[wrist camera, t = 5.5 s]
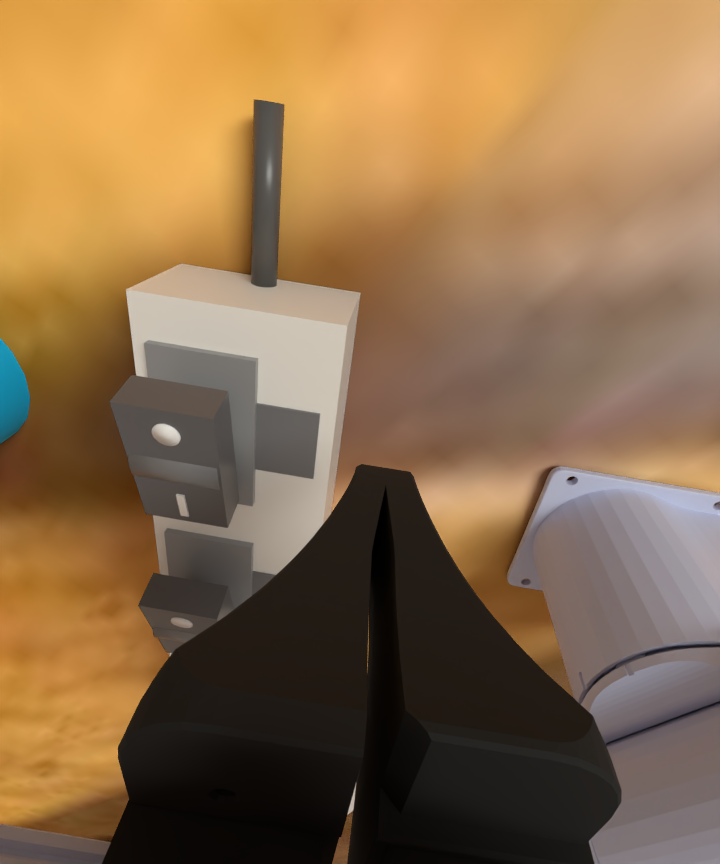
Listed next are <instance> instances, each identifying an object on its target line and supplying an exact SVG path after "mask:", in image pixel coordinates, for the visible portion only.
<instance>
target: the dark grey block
mask: <svg viewBox="0 0 720 864" xmlns="http://www.w3.org/2000/svg"><path fill="white" fill-rule="evenodd" d="M110 405H111V408H112V411H113V414H114V417H115V420H116V423H117V426H118V430H119V433H120V436H121V439H122V442H123V445H124V448H125V451H126V454H127V457H128V460H129V468H130V471H131V473H132V474H133V476H134V479H135V482H136V485H137V488H138V491H139V494H140V497H141V500H142V503H143V506H144V509H145V513H146V514H149V515H155V516H161V517H166V518H172V519H178V520H184V521H189V522H195V523H201V524H207V525H212V526H218V527H224V528H228V527H229V524H230V522H231V519H232V517H233V514H234V512H235V509H236V507H237V504H238V502H239V492H238V482H237V472H236V462H235V452H234V442H233V433H232V423H231V413H230V403H229V393H228V391H225V390H219V389H213V388H207V387H201V386H195V385H189V384H183V383H177V382H171V381H165V380H159V379H153V378H147V377H141V376H135V375H131V376H130V377H129V379H128V380H127V381H126V382H125V383H124V385H123V386H122V387H121V388H120V390H119V391H118V392H117V393H116V394H115V396H114V397H113V398H112V399H111V400H110Z"/></svg>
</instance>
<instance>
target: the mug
mask: <svg viewBox="0 0 720 864" xmlns="http://www.w3.org/2000/svg"><path fill="white" fill-rule="evenodd" d="M29 403H30V396H29V391H28V387H27V382H26V378H25V375H24V373H23V371H22V369H21V368H20V366H19V364H18V362H17V360H16V358H15V357H14V355H13V353H12V351H11V350H10V349H9V348H8V347H7V345H6V344H5V343H4V342H3V341H2V340H1V339H0V444H1V443H2V442H4V441H5V440H7V439H8V438H9V437H11V436H12V435H14V434H15V433H17V432H18V431H19V429H20V428H21V426H22V425H23V423H24V422H25V420H26V419H27V418H28V410H29Z"/></svg>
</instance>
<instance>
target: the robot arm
mask: <svg viewBox="0 0 720 864" xmlns="http://www.w3.org/2000/svg"><path fill="white" fill-rule="evenodd" d="M573 476H574V477H575V478H574V479H573V480H569V481H568V480H567V479H568V478H569V477H573ZM717 502H719V503H718V504H716V505H714V504H715V503H717ZM523 579H526V580H523ZM507 581H508V583H509V584H510V585H513V586H517V587H523V588H529V589H534V590H540V591H543V593H544V596H545V600H546V603H547V606H548V610H549V613H550V617H551V620H552V624H553V627H554V631H555V634H556V637H557V641H558V644H559V648H560V651H561V655H562V658H563V662H564V665H565V668H566V672H567V675H568V679H569V682H570V686H571V689H572V693H573V696H574V698H573V697H572V696H571V695H569V694H568V693H567V692H566V691H565V690H564V689H563V688H562V687H561V686H559V685H558V684H557V683H556V682H555V681H554V680H553V679H552V678H551V677H549V676H548V675H547V674H546V673H545V672H544V671H543V670H542V669H541V668H540V667H539V666H538V665H537V664H536V663H535V662H534V661H533V660H532V659H531V658H530V657H529V656H528V655H527V654H526V653H525V652H524V651H523V649H522V648H521V647H520V646H519V645H518V644H517V643H516V642H515V641H514V640H513V639H512V637H511V636H510V635H509V634H508V633H507V632H506V630H505V629H504V628H503V627H502V626H501V625H500V624H499V622H498V621H497V620H496V619H495V618H494V617H493V615H492V614H491V613H490V612H489V611H488V609H487V608H486V607H485V605H484V604H483V603H482V601H481V600H480V599H479V598H478V596H477V595H476V594H475V592H474V591H473V589H472V588H471V586H470V585H469V584H468V582H467V581H466V579H465V578H464V576H463V575H462V573H461V572H460V570H459V569H458V567H457V566H456V564H455V562H454V561H453V559H452V557H451V556H450V554H449V552H448V551H447V549H446V547H445V545H444V544H443V542H442V540H441V538H440V536H439V534H438V532H437V530H436V528H435V526H434V524H433V522H432V520H431V518H430V516H429V514H428V512H427V510H426V508H425V505H424V503H423V501H422V498H421V496H420V493H419V491H418V488H417V485H416V483H415V480H414V476H413V475H412V474H411V472H407V471H401V470H394V469H388V468H382V467H376V466H370V465H363V464H361V465H359V466H357V467H356V470H355V473H354V476H353V478H352V480H351V482H350V484H349V486H348V488H347V490H346V491H345V493H344V495H343V496H342V498H341V499H340V501H339V502H338V504H337V505H336V507H335V509H334V510H333V512H332V513H331V514H330V516H329V517H328V518H327V520H326V521H325V522H324V524H323V525H322V526H321V527H320V529H319V530H318V531H317V532H316V534H315V535H314V536H313V537H312V539H311V540H310V541H309V542H308V543H307V544H306V545H305V547H304V548H303V549H302V550H301V551H300V552H299V553H298V554H297V555H296V556H295V557H294V558H293V559H292V560H291V561H290V562H289V563H288V564H287V565H286V566H285V567H284V568H283V569H282V570H281V571H280V572H279V573H278V574H277V575H275V576H274V577H273V578H272V579H271V580H270V581H269V582H268V583H267V584H266V585H264V586H263V587H262V588H261V589H260V590H259V591H257V592H256V593H255V594H253V595H252V596H251V597H250V598H248V599H247V600H246V601H244V602H243V603H242V604H241V605H239V606H238V607H237V608H235V609H234V610H233V611H231V612H230V613H229V614H228V615H226V616H225V617H223V618H222V619H221V620H219V621H218V622H216V623H215V624H213V625H212V626H210V627H209V628H207V629H205V630H204V631H202V632H201V633H199V634H198V635H196V636H195V637H193V638H192V639H190V640H189V641H187V642H185V643H184V644H182V645H181V646H179V647H178V648H176V649H175V650H174V652H173V653H172V654H171V656H170V657H169V658H168V660H167V661H166V662H165V664H164V665H163V667H162V668H161V669H160V671H159V672H158V674H157V675H156V677H155V678H154V680H153V681H152V683H151V684H150V686H149V688H148V689H147V691H146V693H145V694H144V696H143V697H142V699H141V701H140V703H139V705H138V707H137V709H136V711H135V713H134V715H133V717H132V719H131V721H130V723H129V725H128V727H127V730H126V732H125V734H124V736H123V738H122V740H121V742H120V744H119V746H118V760H119V763H120V767H121V771H122V774H123V778H124V781H125V785H126V789H127V792H128V796H129V801H128V803H127V806H126V808H125V811H124V813H123V815H122V818H121V820H120V822H119V825H118V827H117V829H116V832H115V834H114V836H113V839H112V841H111V842H107V841H101V840H95V839H89V838H83V837H77V836H71V835H65V834H59V833H53V832H47V831H41V830H35V829H29V828H23V827H17V826H11V825H5V824H0V864H332V861H333V857H334V854H335V850H336V846H337V843H338V839H339V837H341V835H342V832H343V828H344V824H345V821H346V817H347V814H348V810H349V807H350V803H351V799H352V796H353V792H354V789H355V785H356V790H355V800H354V809H353V818H352V827H351V836H350V845H349V853H348V862H347V864H720V493H717V492H711V491H706V490H700V489H694V488H688V487H682V486H676V485H670V484H664V483H658V482H652V481H646V480H640V479H634V478H628V477H622V476H617V475H611V474H605V473H599V472H593V471H587V470H581V469H575V468H569V467H556V468H554V469H552V470H551V472H550V473H549V475H548V478H547V480H546V482H545V485H544V487H543V490H542V492H541V494H540V497H539V499H538V501H537V504H536V506H535V509H534V511H533V513H532V516H531V518H530V520H529V523H528V525H527V528H526V530H525V532H524V535H523V537H522V539H521V542H520V544H519V547H518V549H517V551H516V554H515V556H514V559H513V561H512V563H511V566H510V568H509V570H508V573H507ZM368 617H369V655H368V673H367V649H368Z"/></svg>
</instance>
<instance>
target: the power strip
mask: <svg viewBox="0 0 720 864" xmlns="http://www.w3.org/2000/svg"><path fill="white" fill-rule="evenodd" d="M283 126H284V105H283V104H279V103H274V102H269V101H262V100H254V123H253V189H252V254H251V275H248V274H242V273H236V272H230V271H223V270H217V269H211V268H205V267H199V266H193V265H187V264H179V265H177V266H175V267H173V268H171V269H169V270H167V271H164V272H162V273H160V274H158V275H156V276H154V277H152V278H149V279H147V280H145V281H143V282H141V283H139V284H137V285H135V286H132V287H130V288H128V289H126V294H127V302H128V311H129V319H130V327H131V336H132V344H133V353H134V361H135V369H136V376H141V377H147V378H153V379H159V380H165V381H171V382H177V383H183V384H189V385H195V386H201V387H207V388H213V389H219V390H225V391H228V393H229V403H230V413H231V423H232V433H233V442H234V452H235V462H236V472H237V482H238V492H239V502H238V504H237V507H236V509H235V512H234V514H233V517H232V519H231V522H230V524H229V527H228V528H224V527H218V526H212V525H207V524H201V523H195V522H189V521H184V520H178V519H172V518H166V517H161V516H155V515H153V520H154V528H155V536H156V545H157V553H158V562H159V570H160V574H162V575H168V576H174V577H179V578H185V579H191V580H196V581H202V582H208V583H213V584H219V585H225V586H229V590H230V594H231V599H232V603H233V607H234V609H235V608H237V607H238V606H239V605H241V604H242V603H243V602H244V601H246V600H247V599H248V598H250V597H251V596H252V595H253V594H255V593H256V592H257V591H259V590H260V589H261V588H262V587H263V586H264V585H266V584H267V583H268V582H269V581H270V580H271V579H272V578H273V577H274V576H275V575H277V574H278V573H279V572H280V571H281V570H282V569H283V568H284V567H285V566H286V565H287V564H288V563H289V562H290V561H291V560H292V559H293V558H294V557H295V556H296V555H297V554H298V553H299V552H300V551H301V550H302V549H303V548H304V547H305V545H306V544H307V543H308V542H309V541H310V540H311V539H312V537H313V536H314V535H315V534H316V532H317V531H318V530H319V529H320V527H321V526H322V525H323V524H324V522H325V521H326V520H327V518H328V517H329V516H330V514H331V510H332V502H333V495H334V487H335V480H336V473H337V465H338V458H339V450H340V443H341V435H342V428H343V420H344V413H345V405H346V398H347V390H348V383H349V375H350V368H351V361H352V353H353V346H354V338H355V331H356V323H357V316H358V308H359V301H360V293H358V292H352V291H346V290H340V289H334V288H328V287H322V286H315V285H309V284H303V283H297V282H291V281H285V280H279V279H277V266H278V242H279V219H280V196H281V172H282V149H283ZM171 654H172V653H170V656H171Z"/></svg>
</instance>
